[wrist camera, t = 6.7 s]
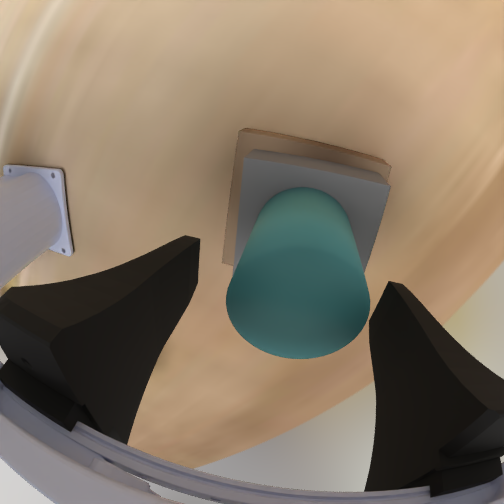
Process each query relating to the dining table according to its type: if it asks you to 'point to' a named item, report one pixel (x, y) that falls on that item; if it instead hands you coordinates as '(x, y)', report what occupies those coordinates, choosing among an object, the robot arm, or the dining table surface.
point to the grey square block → (318, 177)
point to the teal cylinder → (299, 278)
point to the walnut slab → (287, 145)
